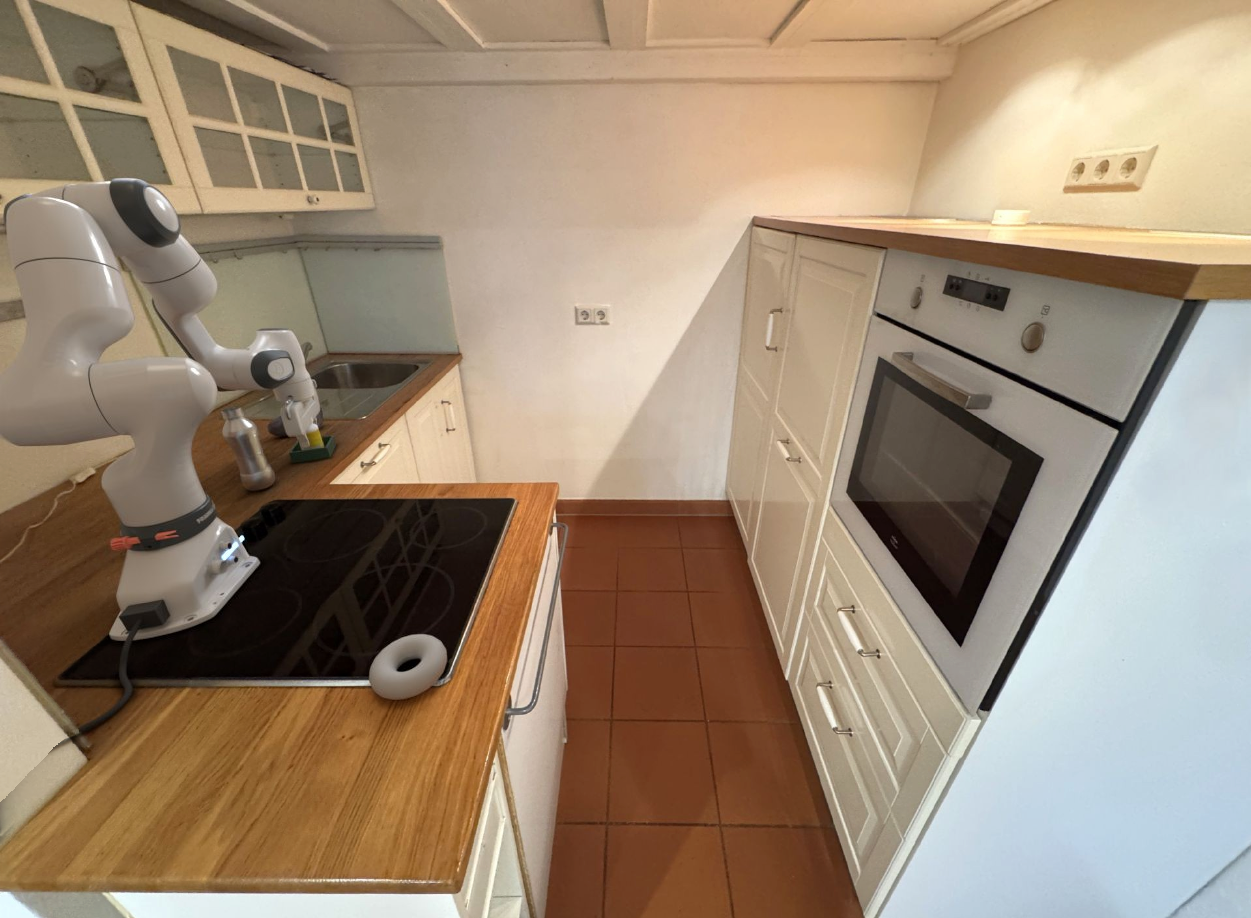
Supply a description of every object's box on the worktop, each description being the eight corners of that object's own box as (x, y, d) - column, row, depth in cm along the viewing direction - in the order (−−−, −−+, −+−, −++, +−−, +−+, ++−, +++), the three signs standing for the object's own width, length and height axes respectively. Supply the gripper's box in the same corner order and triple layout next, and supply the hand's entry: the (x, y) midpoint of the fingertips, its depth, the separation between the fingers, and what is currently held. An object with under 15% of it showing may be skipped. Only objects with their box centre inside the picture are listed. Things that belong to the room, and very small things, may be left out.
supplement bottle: (329, 449, 137) (319, 416, 133) (311, 457, 133) (299, 423, 129) (317, 446, 140) (306, 413, 135) (298, 454, 135) (286, 420, 131)
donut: (393, 720, 63) (463, 669, 69) (386, 702, 61) (458, 652, 68) (360, 678, 69) (427, 635, 75) (353, 660, 67) (422, 617, 74)
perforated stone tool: (272, 442, 145) (263, 419, 142) (270, 436, 149) (262, 414, 146) (329, 428, 153) (322, 407, 150) (326, 424, 157) (319, 403, 154)
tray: (330, 457, 134) (326, 447, 133) (292, 463, 132) (288, 452, 130) (336, 444, 142) (333, 435, 140) (301, 449, 139) (297, 439, 138)
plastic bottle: (239, 490, 119) (206, 411, 110) (269, 478, 124) (239, 402, 115) (255, 496, 116) (221, 416, 107) (284, 483, 121) (254, 406, 112)
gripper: (297, 401, 121) (315, 453, 127) (316, 378, 138) (331, 425, 144) (267, 405, 119) (287, 457, 125) (291, 381, 137) (306, 428, 143)
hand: (310, 439), depth 135 cm, fingers open, 8 cm apart
